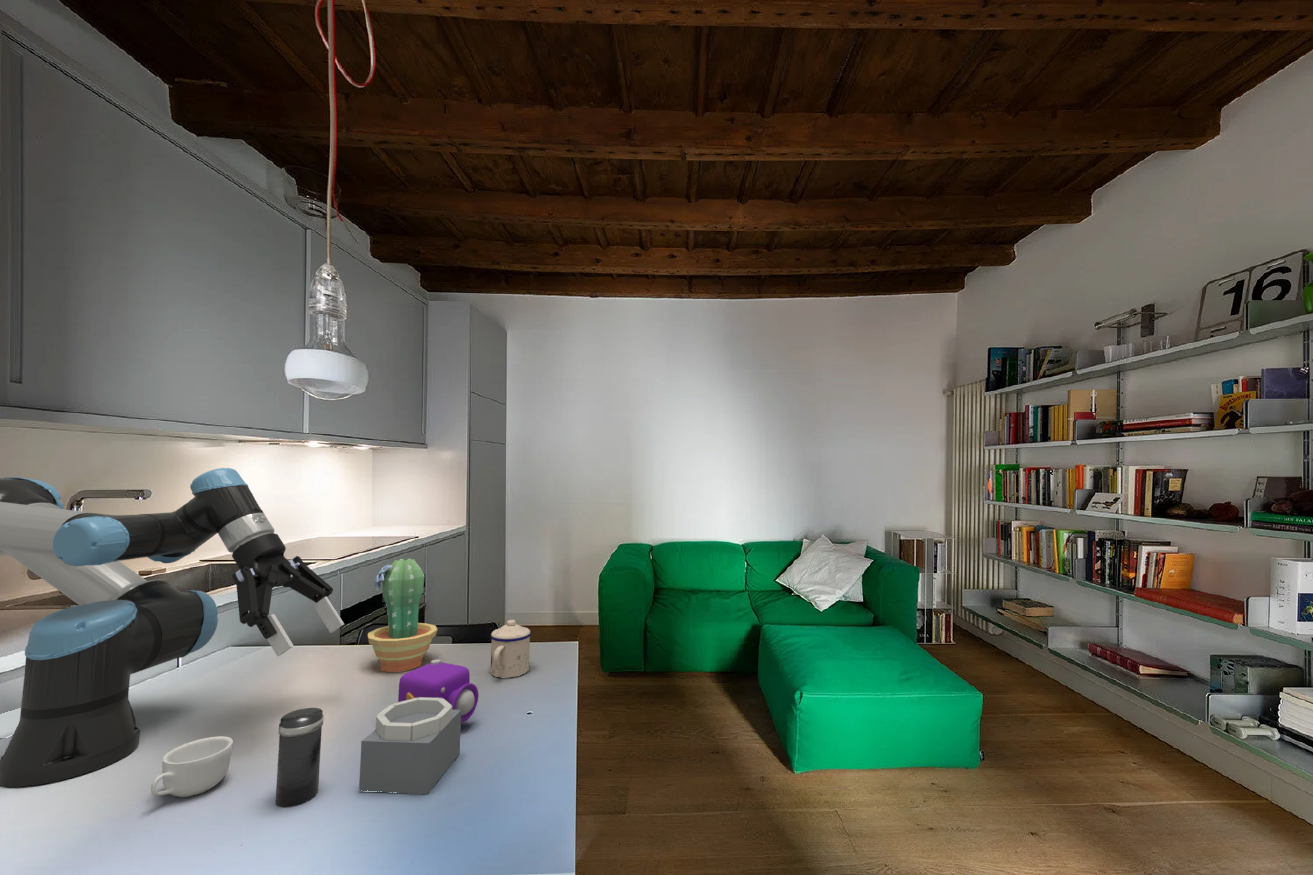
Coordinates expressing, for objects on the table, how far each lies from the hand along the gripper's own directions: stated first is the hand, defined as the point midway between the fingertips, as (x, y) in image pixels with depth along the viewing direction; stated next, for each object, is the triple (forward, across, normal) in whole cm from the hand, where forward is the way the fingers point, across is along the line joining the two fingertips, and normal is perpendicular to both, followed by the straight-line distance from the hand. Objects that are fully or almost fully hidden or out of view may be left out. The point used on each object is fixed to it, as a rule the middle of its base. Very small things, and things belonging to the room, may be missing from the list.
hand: (313, 639), depth 97 cm
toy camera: (+26, +3, -10) cm, 28 cm away
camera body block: (+28, -13, -12) cm, 33 cm away
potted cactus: (+13, +32, +9) cm, 35 cm away
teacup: (+11, -20, +12) cm, 26 cm away
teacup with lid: (+28, +28, -13) cm, 42 cm away
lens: (+20, -20, -2) cm, 29 cm away
